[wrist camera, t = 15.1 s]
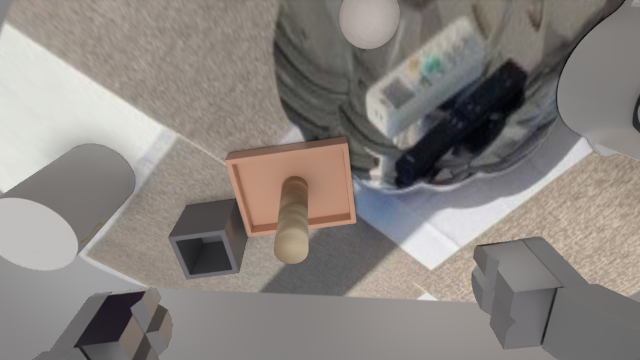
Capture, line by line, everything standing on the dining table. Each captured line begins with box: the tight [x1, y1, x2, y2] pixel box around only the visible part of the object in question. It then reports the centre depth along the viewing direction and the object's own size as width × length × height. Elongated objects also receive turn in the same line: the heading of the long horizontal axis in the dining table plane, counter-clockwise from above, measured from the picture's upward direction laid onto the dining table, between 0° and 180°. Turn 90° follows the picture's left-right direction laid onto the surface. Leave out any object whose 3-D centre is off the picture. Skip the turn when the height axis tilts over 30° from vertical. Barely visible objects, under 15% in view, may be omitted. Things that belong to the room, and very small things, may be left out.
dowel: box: [274, 176, 308, 264], centre depth 37 cm, size 3×3×12 cm
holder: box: [168, 199, 247, 280], centre depth 42 cm, size 6×6×7 cm
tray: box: [225, 136, 356, 237], centre depth 42 cm, size 14×11×2 cm
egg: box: [339, 0, 400, 49], centre depth 31 cm, size 5×5×8 cm
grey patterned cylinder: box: [0, 144, 135, 270], centre depth 36 cm, size 8×8×12 cm
